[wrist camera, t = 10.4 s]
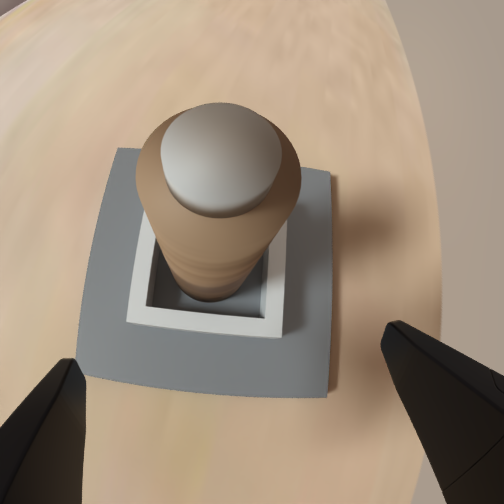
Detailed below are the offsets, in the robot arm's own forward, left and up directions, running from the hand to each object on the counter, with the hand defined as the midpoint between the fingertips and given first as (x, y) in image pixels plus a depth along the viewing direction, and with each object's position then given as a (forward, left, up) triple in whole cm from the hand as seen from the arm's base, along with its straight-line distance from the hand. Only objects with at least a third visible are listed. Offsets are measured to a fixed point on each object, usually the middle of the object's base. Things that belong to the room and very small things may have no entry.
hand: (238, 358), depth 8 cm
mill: (+5, +1, -11) cm, 12 cm away
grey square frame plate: (+5, +1, -12) cm, 13 cm away
